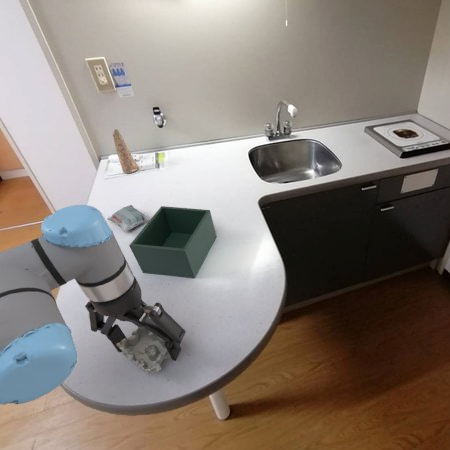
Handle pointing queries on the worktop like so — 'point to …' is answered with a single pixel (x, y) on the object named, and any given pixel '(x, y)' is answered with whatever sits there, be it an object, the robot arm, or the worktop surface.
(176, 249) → the trash bin
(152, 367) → the egg carton
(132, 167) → the brown tapered cone
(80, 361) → the worktop surface
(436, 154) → the worktop surface
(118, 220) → the packaged food
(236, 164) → the worktop surface
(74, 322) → the worktop surface
